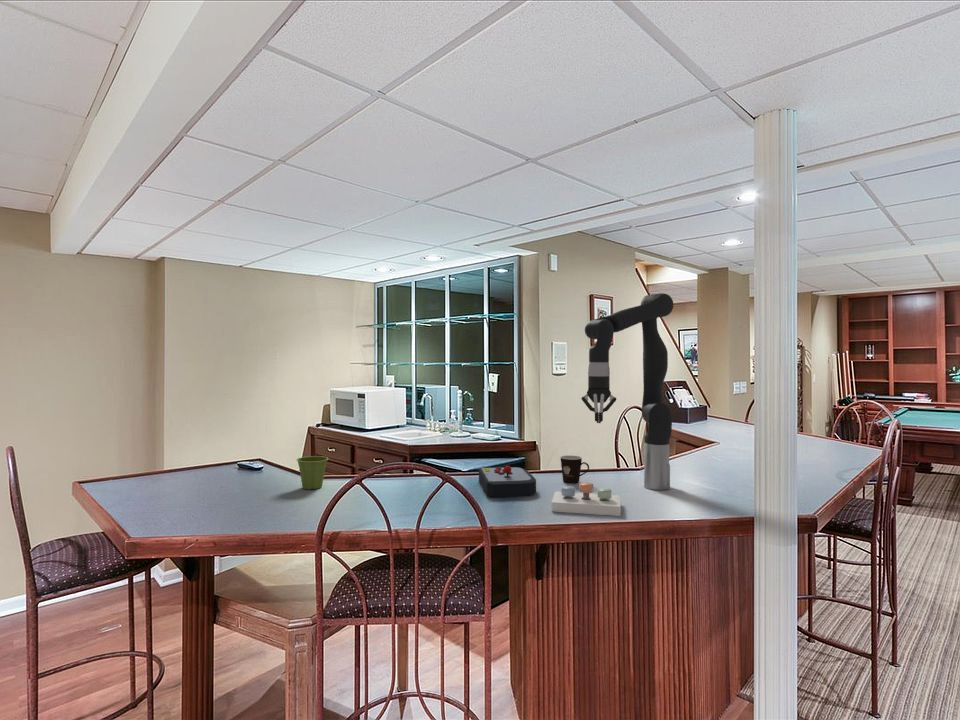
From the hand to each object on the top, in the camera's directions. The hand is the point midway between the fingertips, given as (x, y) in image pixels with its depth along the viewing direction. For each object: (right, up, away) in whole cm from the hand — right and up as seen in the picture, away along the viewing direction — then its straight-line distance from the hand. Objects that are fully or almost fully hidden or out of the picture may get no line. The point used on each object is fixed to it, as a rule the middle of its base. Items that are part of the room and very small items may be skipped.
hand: (598, 422), depth 190 cm
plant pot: (-108, -27, +14) cm, 112 cm away
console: (-7, -27, -13) cm, 31 cm away
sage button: (-1, -26, -14) cm, 30 cm away
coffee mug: (-5, -27, +22) cm, 35 cm away
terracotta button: (-7, -25, -13) cm, 29 cm away
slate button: (-13, -26, -11) cm, 31 cm away
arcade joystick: (-32, -27, +14) cm, 45 cm away
